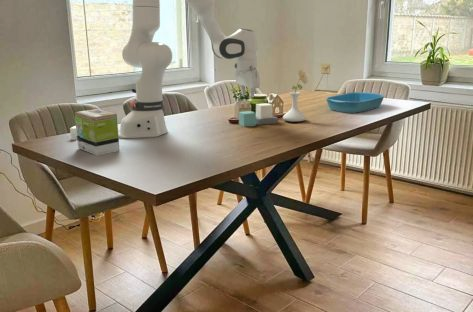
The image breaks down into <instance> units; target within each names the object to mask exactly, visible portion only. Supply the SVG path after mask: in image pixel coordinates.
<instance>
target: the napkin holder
mask: <svg viewBox="0 0 473 312" xmlns="http://www.w3.org/2000/svg"><path fill="white" fill-rule="evenodd" d="M69 130H70V131H69V132H70V140H71V141H73V140H74V141H77V133H76V125H74V126H72V127H70V128H69Z"/></svg>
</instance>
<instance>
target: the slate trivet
mask: <svg viewBox="0 0 473 312" xmlns="http://www.w3.org/2000/svg"><path fill="white" fill-rule="evenodd" d="M278 123H279V117H277V116H274V115H272V118H259V117H256V125H270V124H278Z"/></svg>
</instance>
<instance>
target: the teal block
mask: <svg viewBox="0 0 473 312" xmlns="http://www.w3.org/2000/svg"><path fill="white" fill-rule="evenodd" d="M238 125H239V126H241V127H245V128H246V127H255V126H257V124H256V112H254V111H251V110H248V111H239V112H238Z"/></svg>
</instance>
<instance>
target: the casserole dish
mask: <svg viewBox="0 0 473 312" xmlns="http://www.w3.org/2000/svg"><path fill="white" fill-rule="evenodd" d="M384 97H385V95H384V94H380V93H378V92H377V93H376V92H367V91H366V92H363V91H356V92H355V91H353V92H346V93H342V94H341V93H340V94H336V95H332V96H328V97H326V98H325V99H326V103H327V106H328V108H329V110H331V111H332V110H336V111H335V112H338V111H342V112H341V113H346V112H349V113H348V114H357V113H356V112H359V113H362V111H364V112H367V111H366V110H368V111H371V110H375V109H377V108H379V107H380V106H381V105H382V103H383V100H384ZM374 108H375V109H374ZM370 109H371V110H370Z"/></svg>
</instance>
